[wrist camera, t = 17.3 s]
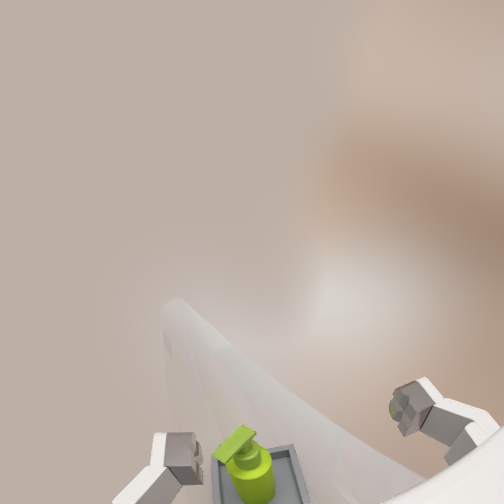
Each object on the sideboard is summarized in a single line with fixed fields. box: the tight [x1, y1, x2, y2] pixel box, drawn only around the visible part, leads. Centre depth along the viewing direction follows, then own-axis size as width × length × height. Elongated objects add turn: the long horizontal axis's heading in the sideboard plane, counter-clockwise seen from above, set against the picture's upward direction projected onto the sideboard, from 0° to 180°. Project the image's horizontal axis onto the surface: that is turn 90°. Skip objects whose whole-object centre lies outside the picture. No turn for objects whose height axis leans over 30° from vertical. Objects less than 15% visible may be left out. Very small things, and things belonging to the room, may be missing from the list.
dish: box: [211, 444, 311, 504], centre depth 32 cm, size 14×14×4 cm
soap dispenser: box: [212, 425, 275, 504], centre depth 28 cm, size 6×7×20 cm
